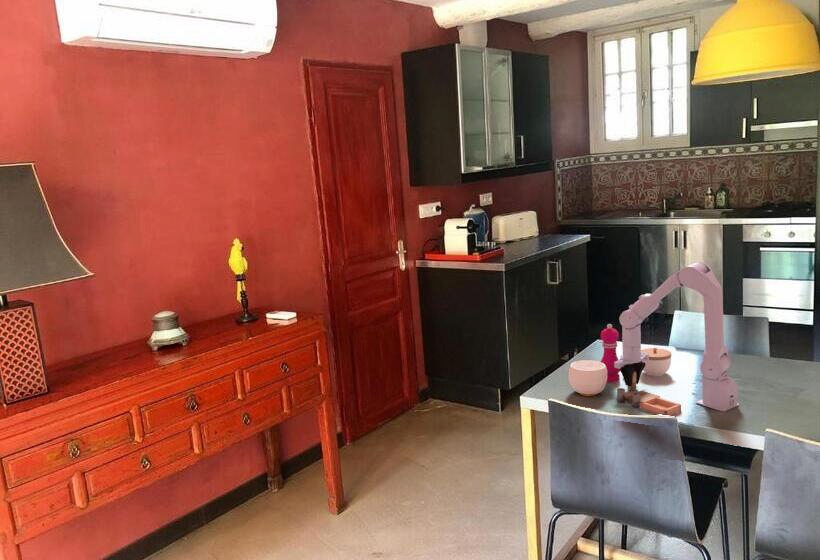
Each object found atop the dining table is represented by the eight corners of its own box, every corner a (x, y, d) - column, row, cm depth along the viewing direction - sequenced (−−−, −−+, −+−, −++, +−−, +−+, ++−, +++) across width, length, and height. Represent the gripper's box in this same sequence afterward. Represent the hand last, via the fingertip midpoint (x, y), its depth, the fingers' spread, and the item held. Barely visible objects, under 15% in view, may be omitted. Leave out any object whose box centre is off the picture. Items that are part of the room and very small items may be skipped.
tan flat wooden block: (659, 400, 214) (659, 396, 214) (640, 407, 210) (640, 402, 209) (641, 394, 220) (641, 390, 220) (622, 401, 216) (622, 396, 215)
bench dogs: (642, 406, 209) (642, 394, 208) (637, 408, 208) (636, 396, 207) (620, 399, 216) (620, 387, 215) (615, 401, 215) (615, 389, 214)
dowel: (638, 389, 224) (638, 371, 222) (632, 391, 222) (632, 373, 221) (631, 387, 226) (631, 369, 225) (625, 389, 224) (625, 371, 223)
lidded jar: (653, 380, 231) (653, 354, 229) (632, 372, 240) (632, 346, 239) (678, 375, 235) (678, 349, 233) (656, 366, 244) (656, 341, 243)
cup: (579, 402, 216) (578, 373, 214) (563, 389, 228) (562, 362, 226) (614, 396, 218) (614, 368, 217) (596, 384, 230) (596, 357, 229)
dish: (681, 411, 203) (681, 404, 203) (665, 417, 200) (665, 410, 199) (655, 403, 211) (655, 396, 211) (640, 408, 207) (640, 402, 207)
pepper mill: (604, 375, 239) (603, 320, 236) (624, 378, 235) (623, 322, 231) (596, 381, 234) (595, 325, 230) (616, 384, 229) (615, 327, 226)
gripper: (636, 338, 228) (636, 376, 231) (606, 347, 221) (607, 386, 223) (653, 342, 222) (653, 381, 225) (623, 351, 215) (624, 392, 217)
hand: (631, 384), depth 224 cm, fingers closed on dowel, 3 cm apart
